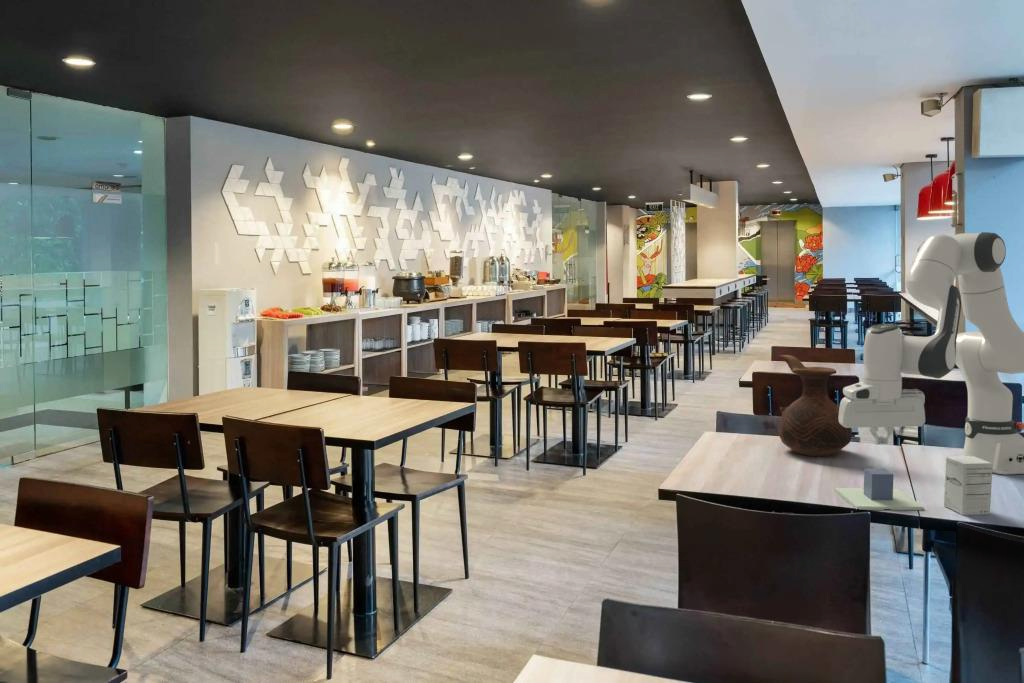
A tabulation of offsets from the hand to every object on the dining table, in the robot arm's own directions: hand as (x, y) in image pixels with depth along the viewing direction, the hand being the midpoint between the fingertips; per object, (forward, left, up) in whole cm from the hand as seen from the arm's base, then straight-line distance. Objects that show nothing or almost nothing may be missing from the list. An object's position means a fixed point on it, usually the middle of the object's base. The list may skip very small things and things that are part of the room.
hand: (881, 444), depth 204 cm
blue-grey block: (0, 0, -14) cm, 14 cm away
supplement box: (-18, +8, -15) cm, 24 cm away
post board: (0, 0, -14) cm, 14 cm away
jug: (0, -52, -15) cm, 54 cm away
